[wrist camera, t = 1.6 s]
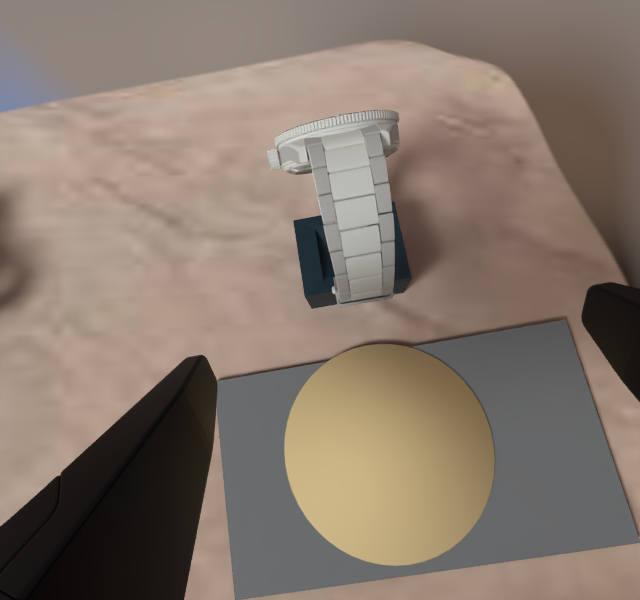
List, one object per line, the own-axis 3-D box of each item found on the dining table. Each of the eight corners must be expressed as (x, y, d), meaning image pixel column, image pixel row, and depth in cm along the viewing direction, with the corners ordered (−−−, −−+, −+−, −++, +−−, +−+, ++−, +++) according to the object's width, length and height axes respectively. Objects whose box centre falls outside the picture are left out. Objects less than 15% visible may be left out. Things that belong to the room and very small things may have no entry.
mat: (636, 540, 18) (642, 543, 17) (237, 597, 19) (234, 601, 18) (559, 311, 20) (563, 310, 20) (215, 372, 21) (212, 372, 21)
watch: (382, 197, 23) (406, 36, 12) (409, 321, 21) (466, 257, 10) (295, 214, 23) (245, 70, 13) (314, 337, 21) (274, 291, 11)
